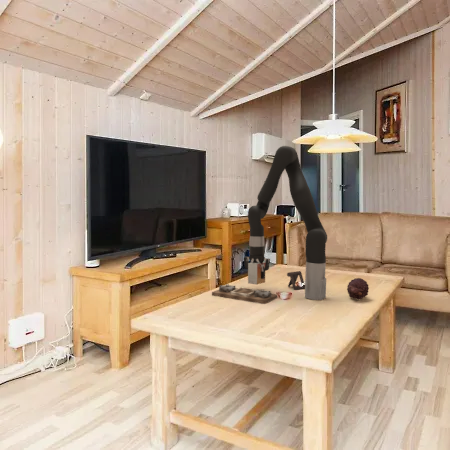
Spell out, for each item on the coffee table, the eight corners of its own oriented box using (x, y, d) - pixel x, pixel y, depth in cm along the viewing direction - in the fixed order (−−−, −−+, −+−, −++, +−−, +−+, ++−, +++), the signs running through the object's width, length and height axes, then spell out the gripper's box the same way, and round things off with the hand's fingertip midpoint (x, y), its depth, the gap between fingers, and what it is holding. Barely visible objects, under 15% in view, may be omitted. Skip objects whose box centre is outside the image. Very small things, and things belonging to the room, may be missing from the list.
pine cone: (347, 293, 214) (348, 273, 213) (368, 295, 211) (369, 275, 210) (345, 301, 197) (346, 280, 197) (368, 304, 194) (369, 282, 193)
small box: (257, 285, 211) (257, 264, 211) (247, 283, 215) (247, 262, 214) (265, 282, 218) (265, 262, 217) (256, 281, 221) (256, 261, 220)
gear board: (277, 297, 203) (277, 288, 203) (264, 303, 191) (265, 294, 191) (226, 289, 217) (226, 281, 217) (211, 295, 205) (212, 286, 205)
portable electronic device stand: (295, 290, 219) (296, 274, 218) (284, 287, 225) (285, 271, 225) (307, 288, 224) (307, 272, 223) (296, 285, 230) (297, 270, 230)
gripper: (273, 245, 214) (272, 278, 216) (247, 243, 222) (247, 275, 223) (266, 246, 208) (266, 280, 209) (240, 245, 215) (240, 277, 216)
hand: (256, 277), depth 216 cm, fingers closed on small box, 6 cm apart
